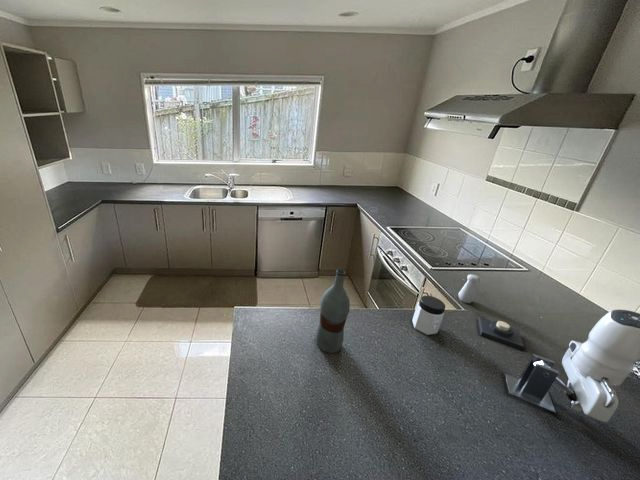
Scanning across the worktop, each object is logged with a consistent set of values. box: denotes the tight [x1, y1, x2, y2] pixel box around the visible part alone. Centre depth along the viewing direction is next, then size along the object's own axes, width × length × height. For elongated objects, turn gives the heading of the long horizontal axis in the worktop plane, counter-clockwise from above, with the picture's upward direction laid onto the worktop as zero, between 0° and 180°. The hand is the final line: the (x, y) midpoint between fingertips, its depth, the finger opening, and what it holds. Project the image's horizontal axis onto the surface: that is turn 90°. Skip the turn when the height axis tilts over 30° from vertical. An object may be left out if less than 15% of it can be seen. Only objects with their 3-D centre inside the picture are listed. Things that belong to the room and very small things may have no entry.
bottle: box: [315, 268, 351, 354], centre depth 92 cm, size 9×9×30 cm
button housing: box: [477, 316, 525, 351], centre depth 105 cm, size 12×10×4 cm
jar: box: [411, 295, 446, 336], centre depth 106 cm, size 9×8×12 cm
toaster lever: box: [534, 360, 577, 402], centre depth 78 cm, size 13×3×3 cm
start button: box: [496, 320, 511, 331], centre depth 104 cm, size 4×4×2 cm
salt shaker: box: [458, 274, 481, 304], centre depth 122 cm, size 6×6×13 cm
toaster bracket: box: [504, 353, 560, 414], centre depth 81 cm, size 10×8×13 cm
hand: (571, 401), depth 78 cm, fingers open, 3 cm apart
